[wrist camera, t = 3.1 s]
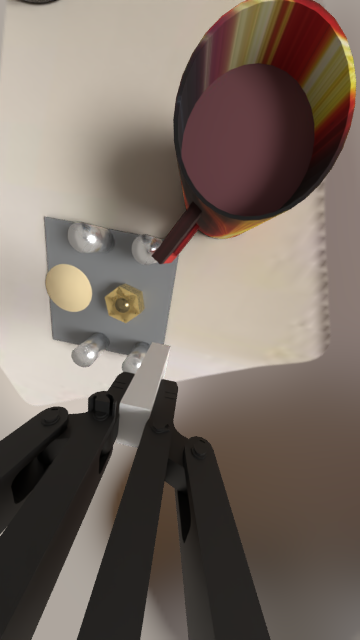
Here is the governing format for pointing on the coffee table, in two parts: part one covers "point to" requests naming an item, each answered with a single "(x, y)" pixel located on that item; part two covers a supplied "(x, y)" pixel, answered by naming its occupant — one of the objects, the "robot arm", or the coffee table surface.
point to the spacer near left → (90, 238)
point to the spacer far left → (90, 349)
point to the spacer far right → (135, 357)
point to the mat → (104, 290)
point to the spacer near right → (145, 249)
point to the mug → (259, 117)
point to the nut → (125, 303)
